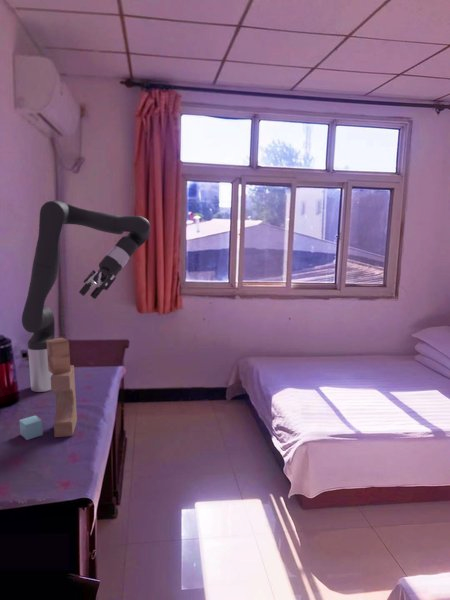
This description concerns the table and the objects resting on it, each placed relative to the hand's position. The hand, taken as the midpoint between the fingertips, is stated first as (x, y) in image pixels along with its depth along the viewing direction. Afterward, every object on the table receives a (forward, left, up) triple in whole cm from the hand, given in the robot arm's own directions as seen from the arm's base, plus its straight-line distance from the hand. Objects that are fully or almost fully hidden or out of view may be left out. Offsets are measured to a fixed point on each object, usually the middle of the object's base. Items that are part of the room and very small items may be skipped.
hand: (86, 295), depth 157 cm
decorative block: (+13, -16, -41) cm, 46 cm away
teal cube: (+9, -25, -41) cm, 49 cm away
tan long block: (+13, -17, -21) cm, 29 cm away
